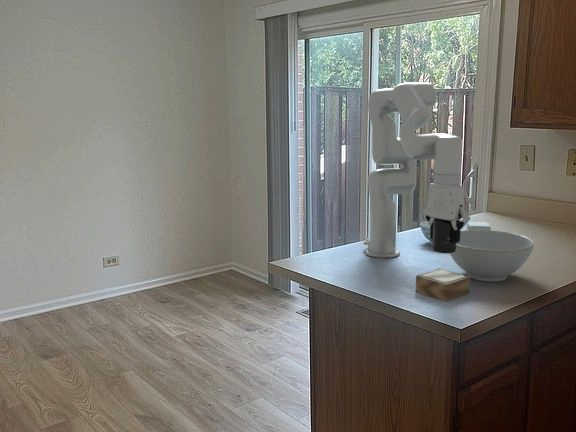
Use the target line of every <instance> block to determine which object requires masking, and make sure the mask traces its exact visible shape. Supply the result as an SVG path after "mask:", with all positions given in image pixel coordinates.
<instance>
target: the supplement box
mask: <svg viewBox="0 0 576 432" xmlns="http://www.w3.org/2000/svg"><path fill="white" fill-rule="evenodd" d="M466 230H491V224H490V223H488V222H486V221H468V222H467V223H466Z"/></svg>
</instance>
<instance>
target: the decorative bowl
mask: <svg viewBox="0 0 576 432" xmlns="http://www.w3.org/2000/svg"><path fill="white" fill-rule="evenodd" d="M534 246H535V242H534V240H533V239H531V238H529V237H527V236H525V235H521V234H518V233H515V232H514V233H513V232H508V231H502V230H501V231H499V230H491V229H490V230H467V229H466V230H461V231H460V242H458V243H456V251H455V252H453V253H449V255H450V256H451V258H452V260H453V261H454V263H455V264H456V265H457V266H458V267H459V268H460V269H461V270H462V271H464V272H466V276H468V277H470V279H473V280H476V281H482V282H502V281H505V280H506V279H507V278H508V276H510V275H512V274H514V273H516V272H517V271H518V270H520V269H521V268H522V267H523V266H524V264H525V263H526V262H527V261H528V259H530V256H531V254H532V252H533V249H534V248H535V247H534Z"/></svg>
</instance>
